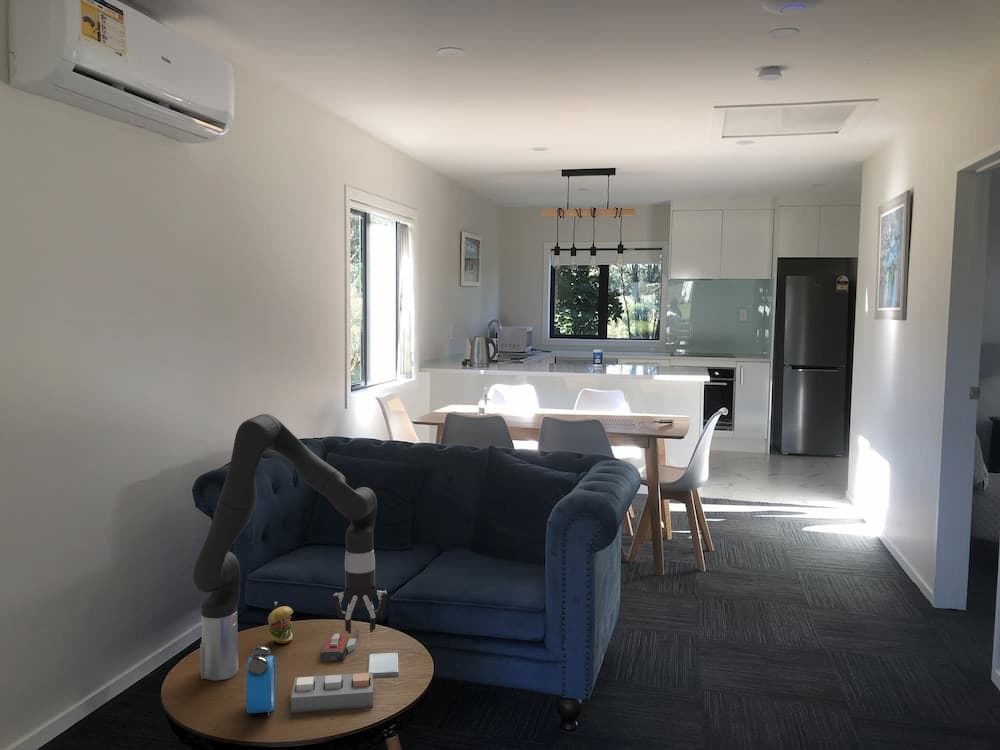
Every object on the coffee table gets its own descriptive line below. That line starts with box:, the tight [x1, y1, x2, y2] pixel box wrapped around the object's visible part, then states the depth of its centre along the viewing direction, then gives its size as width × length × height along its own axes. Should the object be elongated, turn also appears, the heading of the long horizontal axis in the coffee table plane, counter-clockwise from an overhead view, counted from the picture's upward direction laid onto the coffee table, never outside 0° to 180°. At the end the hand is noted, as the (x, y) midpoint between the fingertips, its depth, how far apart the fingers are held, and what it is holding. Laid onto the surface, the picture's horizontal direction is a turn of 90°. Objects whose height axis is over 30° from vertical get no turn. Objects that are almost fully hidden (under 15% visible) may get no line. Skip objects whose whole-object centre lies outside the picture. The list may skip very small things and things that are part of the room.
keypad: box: [290, 671, 374, 713], centre depth 205 cm, size 20×11×4 cm, turn 99°
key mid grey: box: [325, 674, 342, 690], centre depth 205 cm, size 4×4×3 cm
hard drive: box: [367, 652, 400, 678], centre depth 224 cm, size 2×8×12 cm
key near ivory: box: [296, 676, 314, 692], centre depth 204 cm, size 4×4×3 cm
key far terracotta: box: [353, 672, 369, 688], centre depth 206 cm, size 4×4×3 cm
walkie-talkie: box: [319, 629, 360, 662], centre depth 236 cm, size 9×4×20 cm
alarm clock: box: [245, 644, 276, 717], centre depth 199 cm, size 13×6×15 cm, turn 11°
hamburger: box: [267, 601, 294, 644], centre depth 240 cm, size 8×7×12 cm
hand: (360, 631), depth 205 cm, fingers open, 5 cm apart
